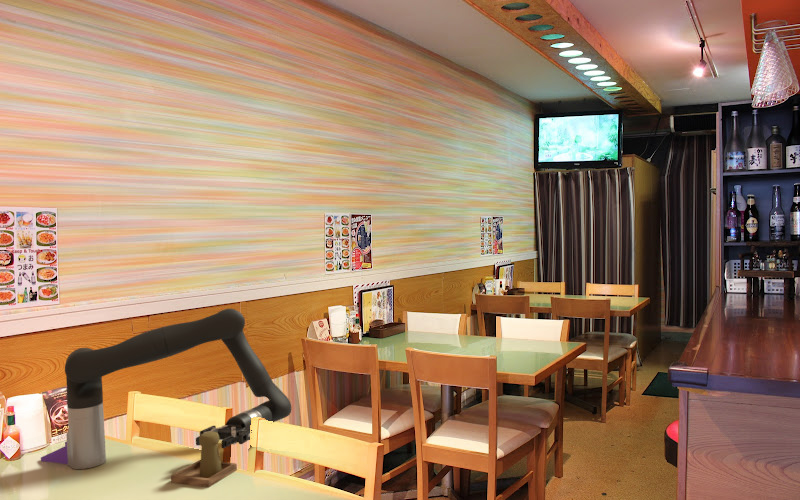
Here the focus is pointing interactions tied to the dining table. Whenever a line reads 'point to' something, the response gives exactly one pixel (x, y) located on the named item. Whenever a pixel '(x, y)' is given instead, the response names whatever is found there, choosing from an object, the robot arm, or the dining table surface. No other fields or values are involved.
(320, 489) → the dining table surface
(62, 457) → the bracket
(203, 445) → the olive pepper mill
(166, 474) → the dining table surface
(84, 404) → the robot arm
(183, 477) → the tray
